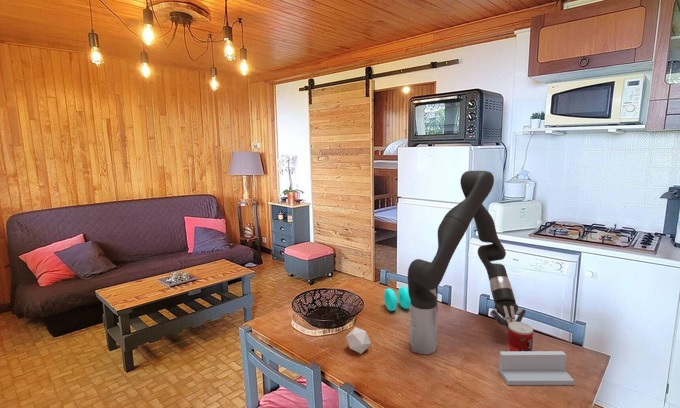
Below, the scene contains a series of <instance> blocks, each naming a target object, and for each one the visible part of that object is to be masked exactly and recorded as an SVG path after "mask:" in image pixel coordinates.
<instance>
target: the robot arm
mask: <svg viewBox="0 0 680 408" xmlns="http://www.w3.org/2000/svg"><path fill="white" fill-rule="evenodd" d="M459 183H460V189H461V191H462V194H463V195H464V199H463V200H462V201H460V202H459V203H457V204H456V205H455V206H454V207H452V208H451V209H449V210H448V211H447V213H446V214H445V215H444V216H443V218H442V220H441V222H440V224H439V226H438V229H437V251H436V254H435V256H434V257H433V259H432V260H431V262H430V261H427V260H424V259H421V258H416V259H414V260H413V261H412V262H410V264H409V266H408V269H407V289H408V293H409V297H410V300H411V305H410V320H409V345H410V350H411V352H412V353H417V354H420V355H430V354H431V355H432V354H433V353H435V352H436V351H437V335H438V334H437V322H438V321H437V317H438V314H437V313H438V298H436V296H435V295H434V294H433V293H432V292H431V291H430V290H433V289H435V288H437V287H438V288H439V285H440V284H441V282H442V280H443V278H444V276H445V274H446V272H447V269H448V267H449V265H450V263H451V259H452V257H453V255H454V254H455V251H456V249H457V248H458V245H459V244H460V242H461V240H463V238H464V235H465V234H466V232H467V230H468V229H469V227H470V224H471V223H472V221H473V220H474V223H475V228H476V231H477V236H478V239H479V241H480V242H481V243H488V244H484V245H480V246H479V247H478V248H477V255H478V257H479V260H480V261H481V262H482V264H483V266H484V268H485V270H486V273H487V277H488V280H489V286H490V287H489V288H490V292H491V295H492V298H493V303H494V307H493V308H494V309H493V310H491V311H490V312H489V315H490V316H491V317H493V319H495V320H496V322H498V324H500V325H501V326H505V327H506V330H507V331H508V325H509V323H510V322H522V320H523V318H524V316H525V314H526V313H527V312H526V310H525V309H521V308H520V307H519V306H518V304H517V303H516V298H515V294H514V291H513V287H512V285H511V280H509V279H510V278H509V276H508V273H507V269H506V267H505V265H503V264H502V263H495V261H502V260H504V259H505V257H506V255H507V252H506V249H505V247H504V245H503V243H502V242H501V241H500V239H499V236H498V233H497V228H496V224H495V220H494V218H493V217H492V215H491V213H490V212H489V211H488V210H487V208H486V207H485V206H484V204H483V203H484V201H485V200H486V199H487V198H488V196H489V195H490V193H491V192H492V189H493V187H494V183H495V177H494V175H493V173H492V172H491V171H489V170H488V171H487V170H468V171H467V170H466V171H464V172H463V173H462V175H461V177H460V181H459ZM516 314H517V317H516Z"/></svg>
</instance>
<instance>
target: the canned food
mask: <svg viewBox="0 0 680 408" xmlns="http://www.w3.org/2000/svg"><path fill="white" fill-rule="evenodd" d="M533 342H534V328H533V327H532V326H531V325H530V324H527V323H525V322H522V321H521V322H510V323H509V325H508V330H507V342H506V343H507V345H506V346H507V349H506V352H507V351H533Z"/></svg>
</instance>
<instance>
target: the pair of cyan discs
mask: <svg viewBox="0 0 680 408" xmlns="http://www.w3.org/2000/svg"><path fill="white" fill-rule="evenodd" d="M396 295H397V296H396ZM383 299H384V305H385V307H386V309H387V310H388V311H389V312H394V311H395V310H396V308H397V307H398V303H399V304H400V306H401V308H403V309H405V310H407V309H409V308H411V300H410V297H409V293H408V287H406V286H401V287H399V289H398V291H397V294H396V292H395V291H394V290H393V289H392V288H390V287H389V288H386V289H385V290H384V292H383Z"/></svg>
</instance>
